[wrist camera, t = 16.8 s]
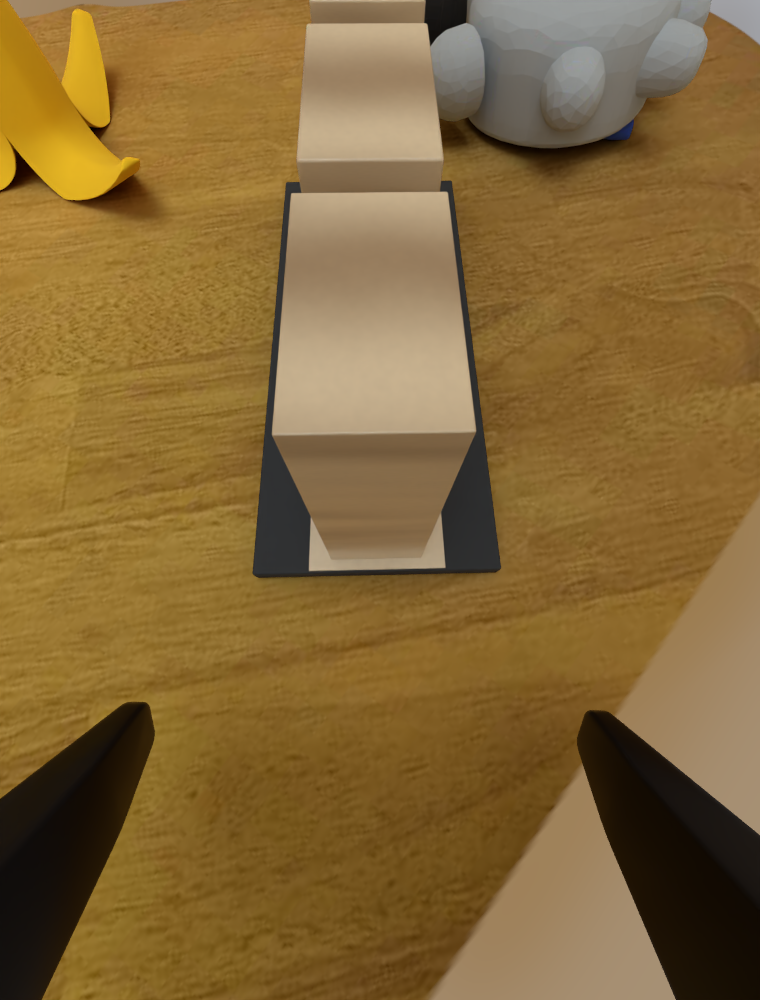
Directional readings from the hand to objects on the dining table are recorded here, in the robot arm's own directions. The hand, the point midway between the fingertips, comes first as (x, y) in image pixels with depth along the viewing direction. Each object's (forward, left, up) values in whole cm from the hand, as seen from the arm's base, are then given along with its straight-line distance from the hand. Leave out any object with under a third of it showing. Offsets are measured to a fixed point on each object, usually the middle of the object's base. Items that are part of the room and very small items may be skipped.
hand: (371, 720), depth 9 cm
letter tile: (+7, -5, -8) cm, 12 cm away
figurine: (+25, -34, -10) cm, 44 cm away
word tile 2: (+14, -11, -9) cm, 19 cm away
